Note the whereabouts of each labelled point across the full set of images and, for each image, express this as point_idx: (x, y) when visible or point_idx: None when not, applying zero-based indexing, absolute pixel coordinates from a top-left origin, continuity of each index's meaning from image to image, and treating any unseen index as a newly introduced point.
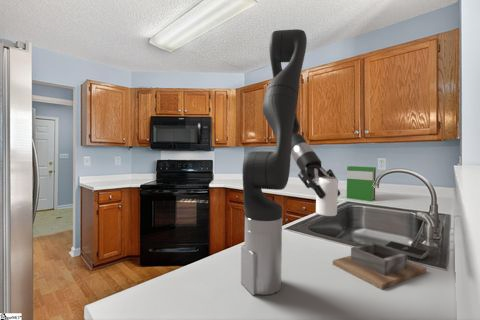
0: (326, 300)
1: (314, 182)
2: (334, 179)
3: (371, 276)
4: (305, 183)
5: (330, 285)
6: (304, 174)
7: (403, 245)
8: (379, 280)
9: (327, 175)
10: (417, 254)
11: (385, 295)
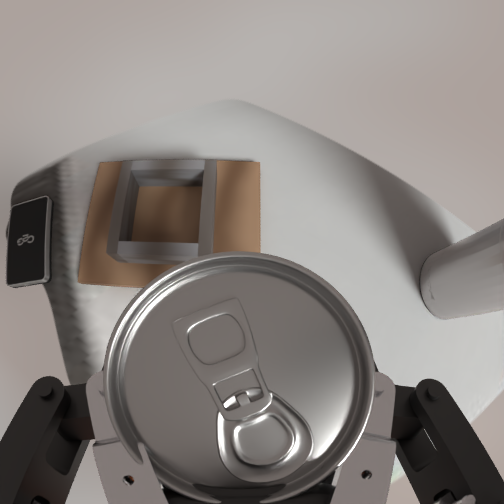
0: (377, 197)
1: (389, 413)
2: (236, 258)
3: (247, 188)
4: (430, 444)
5: (340, 223)
6: (494, 465)
7: (13, 252)
8: (247, 172)
9: (125, 483)
10: (44, 203)
11: (271, 155)
